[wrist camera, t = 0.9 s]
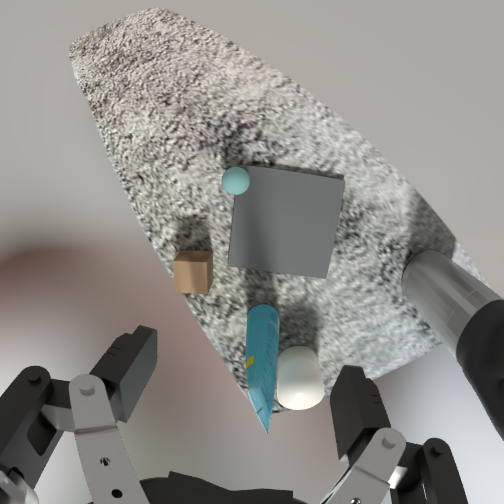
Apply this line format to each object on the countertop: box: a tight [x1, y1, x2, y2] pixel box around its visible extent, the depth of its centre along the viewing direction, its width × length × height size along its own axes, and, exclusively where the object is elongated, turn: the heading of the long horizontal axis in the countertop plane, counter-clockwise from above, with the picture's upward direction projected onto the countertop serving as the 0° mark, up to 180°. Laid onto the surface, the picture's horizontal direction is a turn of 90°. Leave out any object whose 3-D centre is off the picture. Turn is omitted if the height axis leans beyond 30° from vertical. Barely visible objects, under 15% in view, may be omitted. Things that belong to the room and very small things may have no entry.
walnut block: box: [173, 250, 213, 294], centre depth 40 cm, size 4×4×4 cm
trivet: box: [228, 164, 345, 279], centre depth 39 cm, size 14×14×1 cm
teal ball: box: [222, 167, 250, 195], centre depth 36 cm, size 4×4×4 cm
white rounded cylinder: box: [277, 346, 324, 410], centre depth 43 cm, size 7×7×8 cm
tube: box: [246, 304, 280, 434], centre depth 35 cm, size 7×5×19 cm, turn 21°
